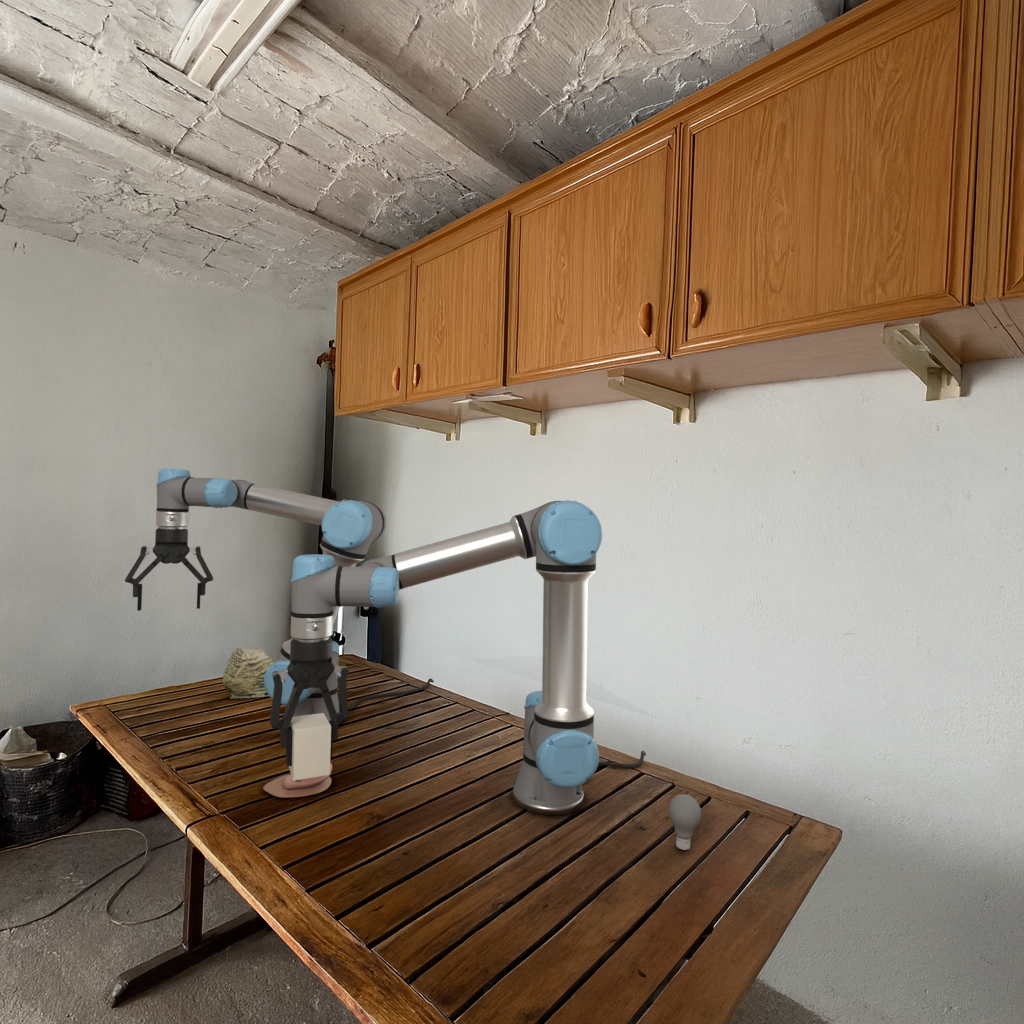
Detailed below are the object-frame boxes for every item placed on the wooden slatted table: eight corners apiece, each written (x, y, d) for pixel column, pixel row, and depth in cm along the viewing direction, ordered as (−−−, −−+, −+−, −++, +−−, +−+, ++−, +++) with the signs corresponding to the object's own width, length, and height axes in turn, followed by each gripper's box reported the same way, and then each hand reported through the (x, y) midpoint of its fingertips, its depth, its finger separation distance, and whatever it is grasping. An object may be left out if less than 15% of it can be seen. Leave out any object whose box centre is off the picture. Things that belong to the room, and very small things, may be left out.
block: (287, 764, 121) (288, 717, 120) (322, 759, 124) (323, 712, 123) (293, 780, 114) (294, 730, 114) (330, 774, 117) (331, 725, 117)
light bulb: (662, 839, 122) (664, 788, 122) (692, 839, 123) (695, 788, 122) (672, 857, 116) (675, 803, 116) (704, 857, 117) (707, 803, 116)
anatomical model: (255, 775, 133) (285, 754, 145) (254, 793, 133) (285, 771, 145) (313, 783, 131) (339, 761, 142) (312, 802, 131) (338, 779, 142)
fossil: (218, 695, 195) (220, 647, 195) (278, 685, 208) (279, 640, 207) (228, 703, 189) (230, 653, 188) (289, 692, 201) (290, 645, 201)
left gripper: (114, 527, 157) (111, 613, 157) (225, 529, 168) (222, 609, 168) (117, 526, 163) (115, 608, 164) (223, 527, 174) (221, 604, 175)
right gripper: (257, 646, 110) (254, 777, 111) (368, 638, 119) (365, 759, 120) (254, 637, 117) (251, 760, 118) (359, 630, 126) (356, 745, 126)
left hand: (169, 608), depth 166 cm, fingers open, 13 cm apart
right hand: (308, 760), depth 119 cm, fingers closed on block, 6 cm apart
